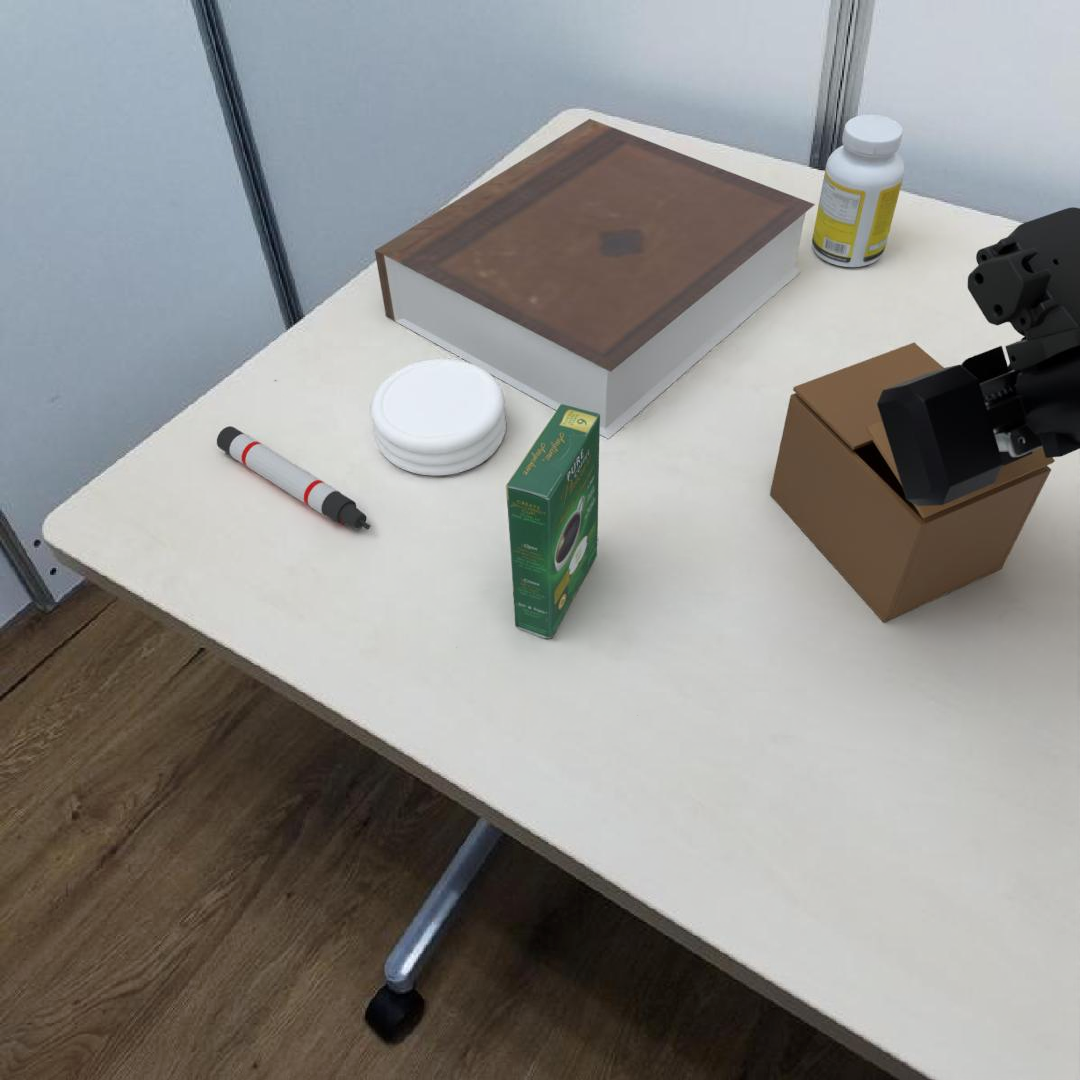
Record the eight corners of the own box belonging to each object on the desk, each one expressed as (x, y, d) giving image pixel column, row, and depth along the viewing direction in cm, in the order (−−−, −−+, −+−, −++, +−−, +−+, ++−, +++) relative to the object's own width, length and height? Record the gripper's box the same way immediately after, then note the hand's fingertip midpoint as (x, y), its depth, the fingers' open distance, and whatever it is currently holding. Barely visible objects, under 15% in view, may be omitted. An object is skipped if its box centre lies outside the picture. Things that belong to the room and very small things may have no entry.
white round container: (350, 453, 77) (342, 419, 74) (420, 376, 82) (415, 341, 80) (464, 496, 73) (460, 461, 71) (529, 412, 79) (527, 377, 76)
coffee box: (562, 541, 70) (559, 397, 60) (600, 553, 69) (604, 410, 60) (511, 627, 66) (500, 487, 56) (552, 642, 65) (547, 502, 55)
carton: (1001, 568, 68) (1056, 461, 60) (883, 622, 65) (924, 517, 57) (879, 450, 75) (914, 341, 68) (769, 494, 73) (792, 386, 65)
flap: (1052, 463, 60) (1055, 460, 60) (922, 518, 58) (925, 516, 57) (993, 379, 62) (996, 376, 62) (865, 429, 60) (867, 427, 59)
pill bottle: (887, 236, 94) (919, 114, 85) (878, 276, 90) (911, 152, 81) (816, 225, 95) (840, 104, 86) (804, 263, 91) (828, 141, 82)
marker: (220, 454, 77) (213, 435, 75) (240, 440, 78) (233, 421, 76) (364, 546, 70) (359, 527, 69) (383, 529, 71) (379, 510, 70)
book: (386, 316, 88) (374, 250, 83) (589, 182, 101) (589, 118, 96) (608, 439, 77) (610, 371, 72) (802, 270, 90) (815, 204, 85)
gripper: (1275, 144, 47) (1023, 236, 62) (959, 253, 42) (768, 325, 57) (1333, 373, 48) (1072, 410, 63) (1033, 506, 43) (827, 512, 58)
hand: (940, 409), depth 60 cm, fingers closed, pressing on flap
